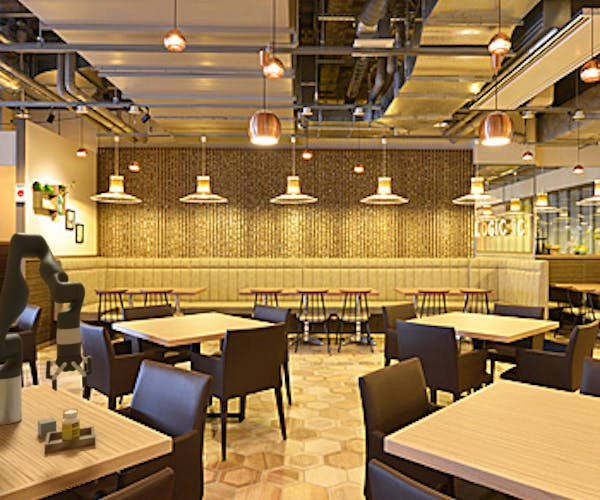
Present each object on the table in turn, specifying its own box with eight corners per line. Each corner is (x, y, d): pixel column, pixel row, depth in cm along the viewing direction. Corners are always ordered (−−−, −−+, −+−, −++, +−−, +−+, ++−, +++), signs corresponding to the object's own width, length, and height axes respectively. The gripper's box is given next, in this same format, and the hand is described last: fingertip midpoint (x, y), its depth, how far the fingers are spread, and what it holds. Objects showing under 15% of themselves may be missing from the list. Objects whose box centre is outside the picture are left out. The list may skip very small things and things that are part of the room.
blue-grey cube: (41, 438, 176) (40, 424, 176) (38, 434, 180) (37, 420, 180) (56, 435, 179) (56, 420, 179) (53, 431, 183) (53, 417, 183)
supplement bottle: (73, 444, 168) (72, 414, 168) (58, 443, 169) (58, 414, 169) (83, 438, 173) (82, 409, 173) (69, 437, 174) (68, 409, 174)
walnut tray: (44, 453, 162) (44, 444, 162) (47, 440, 173) (47, 432, 173) (95, 445, 168) (94, 437, 168) (94, 433, 179) (94, 425, 179)
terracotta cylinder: (71, 428, 184) (72, 411, 184) (59, 427, 185) (60, 410, 185) (79, 425, 189) (80, 408, 189) (67, 423, 190) (69, 407, 190)
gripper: (91, 337, 177) (92, 383, 177) (46, 341, 171) (46, 388, 171) (91, 341, 170) (92, 389, 170) (44, 344, 164) (45, 394, 164)
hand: (69, 388), depth 171 cm, fingers open, 8 cm apart
